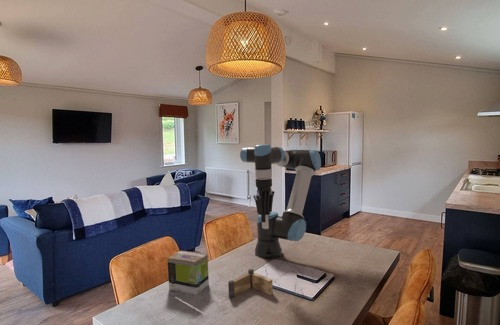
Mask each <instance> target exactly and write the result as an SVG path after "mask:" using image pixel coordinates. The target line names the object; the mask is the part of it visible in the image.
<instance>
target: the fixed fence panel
mask: <svg viewBox="0 0 500 325" xmlns="http://www.w3.org/2000/svg"><path fill="white" fill-rule="evenodd" d="M227 288H228V298H229V299H234V298H235V297H236V296H238V295H240V294H242V293H244V292H245V291H248V289H250V288H252V287H251V285H250V274H248V272H247V273H246V272H245V273H244V274H243V275H240V276H238V277H236V278H234V279H232V280H229V281H228V287H227Z"/></svg>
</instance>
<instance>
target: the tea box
mask: <svg viewBox="0 0 500 325" xmlns="http://www.w3.org/2000/svg"><path fill="white" fill-rule="evenodd" d="M208 260H209V259H208V254H206V253H201V252H193V251H186V250H180V251H178V252H176V253H174V254H172V255H170V256H169V257H167V274H168V289H169V290H170V291H175V292H181V293H182V292H183V293H187V294H192V295H195V296H197V295H198V294H200V293H201V292H202V291H203V290H204V289H206V288H207V287H209V285H210V284H209V283H210V282H209V280H210V279H209V276H210V275H209V261H208Z"/></svg>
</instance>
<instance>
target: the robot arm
mask: <svg viewBox="0 0 500 325" xmlns="http://www.w3.org/2000/svg"><path fill="white" fill-rule="evenodd" d="M239 157H240V160H241V161H242V162H243V163H254V169H255V187H256V188H257V189H256V194H254V195H253V199H254V203H255V206H256V211H257V215H258V216H257V219H256V225H257V226H256V228H257V229H256V230H257V241H256V246H255V250H254V255H255V257H259V258H261V259H266V260H271V259H272V260H273V259H277V258H280V257H281V256H282V255H283V250H282V246H281V243H280V241H279V239H282V240H287V241H289V242H290V241H291V242H299V241H300V240H302V239H303V237H304V236H305V234H306V231H307V222H306V220H305V217H304V215H303V211H304V209H305V208H304V207H305V203H306V200H307V195H308V192H309V188H310V184H311V181H312V176H314V175H315V174H316V171H319V170H321V167H322V160H321V159H322V158H321V155H320V153H319V151H318V150H317V149H311V148H310V149H287V150H284V149H283V148H282V147H280V146H274V147H272V146H271V144H256V145H255V146H254V147H248V146H247V147H243V148H241V150H240V152H239ZM272 165H276V166H278V167H281V168H287V169H291V170H292V169H293V170H294V171H296V174H295V178H294V182H293V185H292V189H291V193H290V197H289V200H288V204H287V207H286V210H284V211H283V212H282V214H281V215H282V216H280V215H279V214H278V212H277V211H273V201H274V195H275V191H274V190H272V186H273V178H272V177H273V172H272V171H273V169H272Z"/></svg>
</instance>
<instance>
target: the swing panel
mask: <svg viewBox="0 0 500 325" xmlns="http://www.w3.org/2000/svg"><path fill="white" fill-rule="evenodd" d="M247 273H248V274H250V285H251V287H250V288H252V289H255V290H257V291H259V292H262V293H264V294H266V295H268V296H271V295H273V292H274V291H273V284H274V283H273V279H272V278H270V277H266V276H264V275H261V274H259V273H258V272H254V269H253V268H249V269H248V270H247Z"/></svg>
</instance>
